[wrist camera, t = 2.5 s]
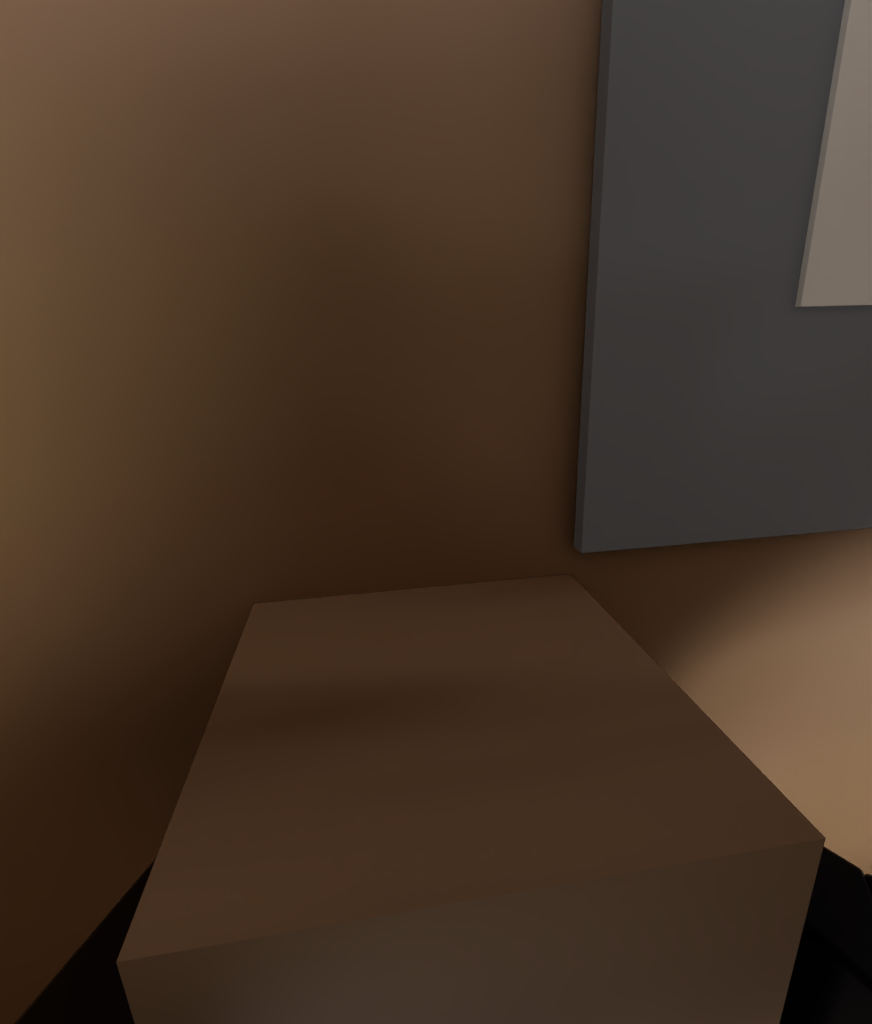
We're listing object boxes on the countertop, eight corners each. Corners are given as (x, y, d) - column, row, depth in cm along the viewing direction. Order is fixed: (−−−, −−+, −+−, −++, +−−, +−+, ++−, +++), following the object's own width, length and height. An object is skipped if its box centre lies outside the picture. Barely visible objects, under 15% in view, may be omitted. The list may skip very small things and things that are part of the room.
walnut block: (556, 810, 10) (733, 1207, 6) (291, 851, 10) (231, 1346, 5) (568, 572, 9) (825, 838, 4) (254, 601, 8) (115, 962, 3)
